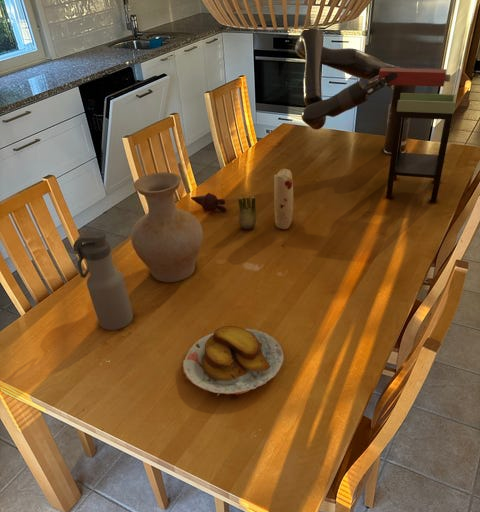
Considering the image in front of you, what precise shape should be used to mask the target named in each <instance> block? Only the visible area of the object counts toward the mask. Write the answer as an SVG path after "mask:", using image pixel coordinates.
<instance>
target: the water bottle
mask: <svg viewBox="0 0 480 512" xmlns="http://www.w3.org/2000/svg"><path fill="white" fill-rule="evenodd" d="M72 249H73V253H74V254H75V255H77V257H78V260H77V263H76V264H77V265H76V266H77V269H78V272H79V275H80V278H82V279H85V278H86V277H87V276H88V277H87V279H86V286H87V290H88V293H89V296H90V300H91V303H92V305H93V309H94V313H95V316H96V318H97V322H98V324H99V326H100V327H101V328H102V329H105V330H107V331H116V330H117V331H118V330H121V329H123V328H126V327H127V326H128V325H129V324H131V322H132V321H133V318H134V313H133V309H132V305H131V302H130V298H129V293H128V290H127V286H126V282H125V278H124V275H123V273H122V272H121V271H120V270H119V269H118V268H115V264H114V261H113V257H112V249H111V245H110V242H109V241H108V240H107V235H106V232H105V231H103V230H91V231H90V230H86V231H84V232H82V233H81V234H80V235H79V236H78V237H77V238H76V239H75V241H74V242H73V245H72ZM84 260H85V262H86V266H87V268H86V269H85V271H83V268H82V262H83V261H84ZM88 274H89V275H88Z"/></svg>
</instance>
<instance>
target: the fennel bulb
mask: <svg viewBox="0 0 480 512" xmlns="http://www.w3.org/2000/svg"><path fill="white" fill-rule="evenodd" d="M237 202H238V208H239V210H238V224H239V227H240V228H241V229H243V230H252V229H254V228H255V226H256V225H257V216H258V215H257V209H256V208H257V207H256V197H255V196H251V197H250V196H242V197H238V199H237Z"/></svg>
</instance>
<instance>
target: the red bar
mask: <svg viewBox="0 0 480 512" xmlns="http://www.w3.org/2000/svg"><path fill="white" fill-rule="evenodd" d="M447 71H448V69H447V68H445V69H444V68H404V67H401V68H381V69H380V71H379V78H378V79H381V78H382V77H385V76H387V75H389V74H391V73H393V72H396V74H397V78H396V79H394V80H392V81H390V82H388V83H387V84H386V85H408V86H416V87H445V83H446V82H447V83H449V82H450V81H451V76H452V74H451V73H450V74H447ZM386 85H385V86H386Z"/></svg>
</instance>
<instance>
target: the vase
mask: <svg viewBox="0 0 480 512" xmlns="http://www.w3.org/2000/svg"><path fill="white" fill-rule="evenodd" d="M181 182H182V177H180V175H178V174H177V173H174V172H167V171H162V172H161V171H160V172H159V171H158V172H153V173H148V174H145V175H142V176H141V177H139V178H137V179H136V180H135V181H134V183H133V188H134V189H135V190H136V191H137V192H138V193H139V195H142V196H144V197H145V199H146V202H147V208H148V209H147V213H145V214H144V215H142V216H141V217H140V218H139V219H137V220H136V222H135V223H134V225H133V227H132V229H131V233H130V241H131V245H132V248H133V250H134V252H135V254H136V255H137V257H138V258H139V259H140V261H142V263H143V264H144V265H145V266H146V267H147V268H148V270H149V271H150V273H151V275H152V277H153V278H154V279H155V280H156V281H159V282H163V283H175V282H180V281H183V280H185V279H187V278H189V277H190V276H191V275H193V274H194V271H195V269H196V268H195V267H196V261H197V258H198V256H199V253H200V250H201V247H202V244H203V236H204V233H203V227H202V225H201V222H200V220H199V219H197V217H196V216H195V215H194V214H192V213H190V212H189V211H186V210H184V209H181V208H177V205H176V202H175V191H177V190H178V189H179V187H180V185H181Z"/></svg>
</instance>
